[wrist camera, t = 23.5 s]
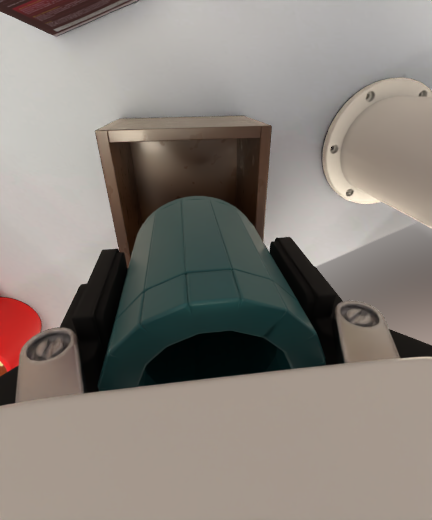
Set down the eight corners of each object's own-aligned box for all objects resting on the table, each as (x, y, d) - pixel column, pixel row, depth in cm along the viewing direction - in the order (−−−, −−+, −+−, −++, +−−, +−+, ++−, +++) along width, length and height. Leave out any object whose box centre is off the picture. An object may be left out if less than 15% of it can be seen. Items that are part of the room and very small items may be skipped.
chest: (118, 118, 28) (94, 130, 20) (243, 115, 29) (272, 125, 21) (142, 267, 36) (133, 321, 28) (239, 260, 37) (258, 309, 29)
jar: (261, 191, 12) (346, 289, 6) (254, 299, 15) (308, 437, 9) (124, 199, 12) (71, 313, 6) (143, 309, 14) (122, 463, 8)
